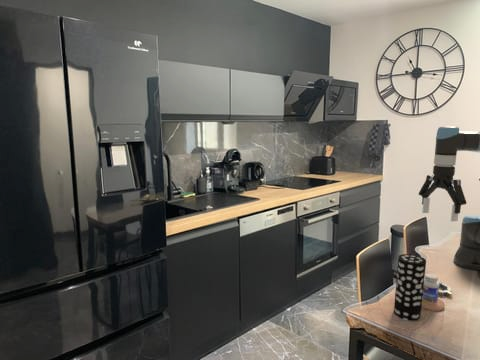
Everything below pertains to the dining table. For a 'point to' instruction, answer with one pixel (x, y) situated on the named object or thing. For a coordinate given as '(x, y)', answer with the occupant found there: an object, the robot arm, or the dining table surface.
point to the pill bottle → (430, 289)
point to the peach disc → (434, 306)
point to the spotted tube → (409, 287)
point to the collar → (445, 290)
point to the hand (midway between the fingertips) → (439, 216)
